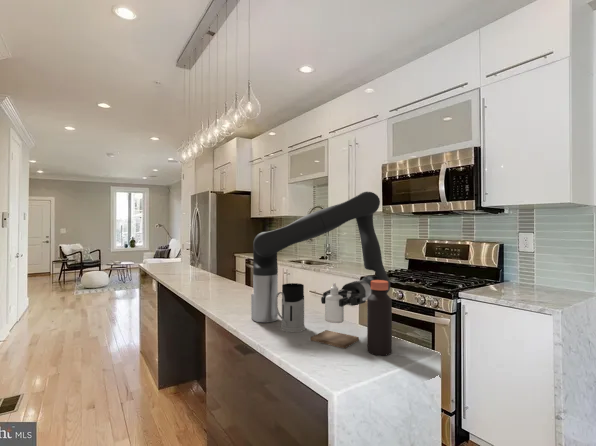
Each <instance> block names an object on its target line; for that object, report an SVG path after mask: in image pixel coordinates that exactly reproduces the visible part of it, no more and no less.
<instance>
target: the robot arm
mask: <svg viewBox="0 0 596 446" xmlns="http://www.w3.org/2000/svg"><path fill="white" fill-rule="evenodd" d="M380 204H381V200H380V198H379V196H378V194H377V193H375V192H373V191H364V192H363V191H362V192H361V193H359V194H358V195H355V196H354V197H352V198H350V199H348V200H346V201H344V202H341V203H337V204H334V205H331V206H327V207H324V208H321V209H319V210H316V211H313V212H311V213H308V214H306V215H304V216H301V217H300V218H298V219H296V220H294V221H292V222H291V223H289V224H288V225H285V226H282V227H280V228H277V229H274V230H269V231H261V232H260V233H258V234H257V235H255V237H254V240H253V242H252V243H253V246H252V247H253V250H252V251H253V253H252V254H253V256H252V257H253V258H252V260H253V263H252V264H253V269H252V271H253V276H252V277H253V281H252V282H253V283H252V285H253V288H252V289H253V293H251V294H250V295H251V298H250V299H251V301H250V303H251V304H250V305H251V306H250V307H251V308H250V309H251V310H250V311H251V313H250V314H251V315H250V316H251V320H253V321H254V322H256V323H272V322H276V321H278V318H279V316H278V314H277V311H276V306H275V298H276V295H277V293H279V290H278V289H279V284H278V283H279V280H278V279H279V276H278V275H279V273H278V272H279V271H278V270H279V269H278V253H279V252H281V251H282V250H284V249H286V248H288V247H290V246H292V245H294V244H297V243H298V244H299V243H302V242H305V241H308V240H312V239H314V238H318V237H320V236H322V235H325V234H327V233H329V232H331V231H334V230H335V229H337V228H339V227H340V226H342V225H344V224H345V223H347V222H349V221H351V220H355V221H356V224H357V227H358V228H357V229H358V232H359V238H360V243H361V250H362V251H361V252H362V260H363V267H364V269H366V270H368V271H373V272H375V274H376V275H368V276H365V277H363V278H362V279H358V280H355V281H352V282H348V283H345V284H344V285H343V286H342V287H341V288H340V289H338V295H340V296H342V297H343V298H342V299H339V306H340V307H342V306H344V307H346V306H351V307H352V306H358V305H361V304H365V303H367V302H366V301H367V299H368V297H369V296H370V295H371V294H372V291H371V281H372V280H384V281H388V292H387V294H388V293H389V292H390V291H391V281H390V279H389V275H388V274H387V272H386V268H385V267H384V264H383V258H382V251H381V246H380V243H379V239H378V237H377V234H376V229H375V226H374V220H373V219H374V214H375V213H376V212H377V211H378V210H379V208H380ZM327 295H330V289H329V290H326V291H324V292H323V293H322V296H321V297H320V299H321V300H320V302H321V304H323V305H325V298H326V296H327ZM278 298H279V297H278ZM278 298H277V306H278V305H279V304H278V303H279V301H278Z"/></svg>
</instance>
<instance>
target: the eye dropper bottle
mask: <svg viewBox="0 0 596 446" xmlns="http://www.w3.org/2000/svg"><path fill="white" fill-rule="evenodd" d="M329 290H330V295H327V296H326V298H325V304H324V309H325V310H324V311H325V313H324V316H325V319H324V320H325V322H326V323H333V324H341V323H343V322H344V320H345V316H344V314H345V313H344V312H345V310H344V308H345V306H342V307H340V306H339V299H342V298H343V297H342V296H340V295H338V291H339V287H338V286H337V284H336V282H333V283H332V286H331V287H330V289H329Z"/></svg>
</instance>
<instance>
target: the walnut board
mask: <svg viewBox="0 0 596 446" xmlns="http://www.w3.org/2000/svg"><path fill="white" fill-rule="evenodd" d="M359 340H360V337H359V336H354V335H351V334H346V333H342V332H337V331H333V330H328V329H325V330H324V331H321V332H319V333H317V334H315V335H313V336H310V341H311V342H315V343H321V344H323V345H324V344H325V345H328V346H332V347H337V348H341V349H347V348H349V347H350V346H352V345H354V344H355V343H357V342H358V341H359Z"/></svg>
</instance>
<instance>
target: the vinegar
mask: <svg viewBox="0 0 596 446" xmlns="http://www.w3.org/2000/svg"><path fill="white" fill-rule="evenodd" d="M371 291H372V294H371V295H370V296H369V297H368V299H367V300H366V301H367V302H366V304H367V307H366V308H367V309H366V310H367V311H366V312H367V314H366V315H367V318H366V319H367V321H366V323H367V325H366V326H367V327H366V328H367V331H366V332H367V333H366V334H367V336H366V338H367V341H366V342H367V345H366V346H367V347H366V348H367V349H366V350H367V352H368V353H369V354H371V355H374V356H381V357H383V356H384V357H386V356H390V355H391V354H393V353H392V352H393V348H392V347H393V346H392V345H393V343H392V342H393V338H392V337H393V335H392V333H393V329H392V328H393V326H392V325H393V324H392V323H393V318H392V317H393V316H392V315H393V312H392V311H393V308H392V306H393V303H392V302H393V299H392V298H391V296H389V295H388V293H389V292H388V281H384V280H372V281H371ZM387 292H388V293H387Z"/></svg>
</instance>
